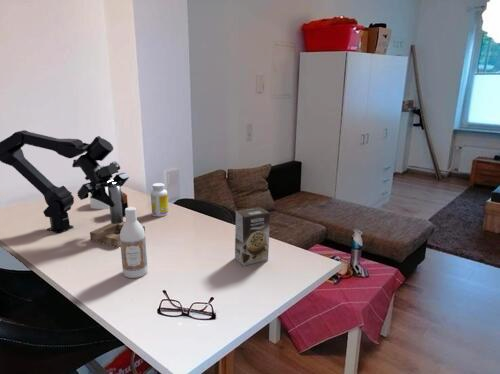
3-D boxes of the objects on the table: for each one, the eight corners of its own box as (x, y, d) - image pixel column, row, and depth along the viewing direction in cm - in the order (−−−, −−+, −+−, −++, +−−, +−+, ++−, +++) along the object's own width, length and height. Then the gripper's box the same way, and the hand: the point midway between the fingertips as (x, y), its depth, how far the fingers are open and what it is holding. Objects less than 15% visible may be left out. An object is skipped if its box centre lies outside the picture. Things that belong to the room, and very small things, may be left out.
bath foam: (122, 280, 106) (115, 213, 101) (124, 268, 113) (118, 205, 107) (147, 277, 108) (142, 212, 102) (148, 265, 114) (143, 203, 109)
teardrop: (98, 200, 172) (96, 174, 169) (121, 201, 171) (119, 176, 167) (85, 208, 162) (82, 181, 158) (109, 210, 160) (107, 183, 157)
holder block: (90, 240, 131) (89, 232, 130) (118, 227, 142) (118, 219, 141) (118, 248, 126) (117, 239, 125) (145, 234, 137) (144, 226, 136)
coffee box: (243, 266, 115) (244, 217, 110) (234, 257, 120) (234, 210, 116) (269, 260, 119) (270, 212, 114) (259, 252, 124) (260, 206, 120)
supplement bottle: (170, 211, 159) (169, 182, 155) (165, 217, 153) (164, 187, 149) (155, 211, 160) (153, 181, 156) (149, 216, 153) (147, 186, 150)
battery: (118, 217, 152) (116, 194, 149) (112, 213, 157) (110, 190, 154) (129, 215, 154) (127, 192, 151) (123, 210, 159) (121, 188, 156)
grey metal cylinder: (108, 222, 131) (105, 186, 128) (117, 218, 135) (114, 184, 131) (116, 224, 130) (113, 188, 126) (125, 220, 133) (122, 185, 129)
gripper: (79, 160, 119) (108, 199, 118) (123, 150, 135) (148, 184, 134) (65, 180, 125) (92, 218, 123) (109, 169, 141) (133, 201, 139)
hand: (118, 204), depth 130 cm, fingers closed on grey metal cylinder, 4 cm apart
